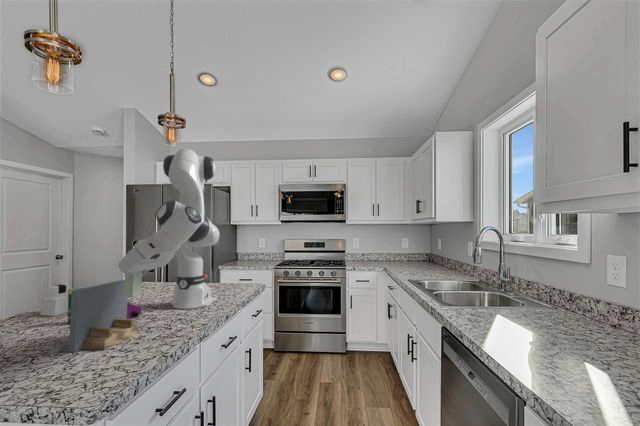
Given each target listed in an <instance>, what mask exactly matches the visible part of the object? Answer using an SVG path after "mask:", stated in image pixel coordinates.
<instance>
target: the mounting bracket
mask: <svg viewBox="0 0 640 426" xmlns="http://www.w3.org/2000/svg"><path fill="white" fill-rule="evenodd" d="M141 313H142V307H140V306H138V305H135V304H132V303H130V302H128V301H127V319H131V314H133V315H137V316H138V315H141Z"/></svg>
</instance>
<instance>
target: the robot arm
mask: <svg viewBox="0 0 640 426" xmlns="http://www.w3.org/2000/svg"><path fill="white" fill-rule="evenodd" d="M162 169H163V172H164V175H165V176H166V177H167V178H168V180H169V182H170V184H171V185H172V186H173V187H174V189H175V190H177V191H178V192H179V201H177V200H168V201H166V202H164V203H163V204H162V205H160V207H159V208H158V209H157V211H156V213H155V216H156V222H157V223H158V225H159V226H160V229H159V230H157V231H156V232H155V233H154V234H153V235H150V236H148V237H146V238H143V239H140V240H138V241H136V242H135V244H134V247H133V248H131V249H130V250H129V251H128V252H127V253H126V254H125V255H124V256H123V258H121V260H119V262H118V265H117V267H118V268H119V269H120V271H121V272H122V273H123V274H124V279H125V278H126V279H130V278H132V277H133V276H134V275H133V273H135V272H137V271H142V277H143V276H145V274H147V273H148V272H149V271H152V269H153V270H154V269H157V268H164V267H165V266H166V265H168V264H169V263H170V262H171V260H172V259H173V258H174V257H176V259H177V260H176V261H177V276H176V278H175V279H176V280H175V281H176V286H175V287H174V291H173V298H172V299H173V300H172V301H171V302H170V305H171V306H172V307H173V308H174V309H180V310H181V309H183V310H188V309H197V308H203V307H205V308H206V307H209V306H210V305H211V304H213V302H216V300H217V297H215V296H212V288H211V287H210V286H209V285H208V284H207V283H205V280H206V279H207V277H208V274H203V272H204V260H203V258H202V257H201V256H200V255H199V254H196V253H194V252H193V250H192V248H191V247H210V246H214V245H216V244H217V243H218V242H219V240H220V236H221V235H220V230H219V228H218V227H217V226H216V225H215V224H213V222H211V221H210V219H209V217H208V214H207V202H206V201H207V199H206V191H205V186H204V185H205V184H204V181H205V183H207V182H208V181H210V180H211V179H212V178H213V177H214V175H215V173H216V170H217V167H216V164H215V160H214V159H213V158H212V157H211V156H205V155H204V156H202V155H198V154H197V153H196V151H194V150H192V149H190V148H182V149H179V150H177V152H175V154H171V155H167V156H166V157H164V160H163V163H162Z"/></svg>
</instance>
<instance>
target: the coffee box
mask: <svg viewBox="0 0 640 426" xmlns="http://www.w3.org/2000/svg"><path fill="white" fill-rule="evenodd" d="M78 289H82V288H71V289H68V290H67V291H68V294H67V295H68V312H67V325H69V326H70V318H71V298H72V291H73V290H78Z"/></svg>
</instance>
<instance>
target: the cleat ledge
mask: <svg viewBox="0 0 640 426" xmlns="http://www.w3.org/2000/svg"><path fill="white" fill-rule="evenodd" d="M134 322H135V320H134V319H133V318H129V319H115V320H114V327H112V328H101V327H93V328H91V333H90V336H89V337H87V338H84V349H86V350H90V349H91V350H99V349H100V350H101V351H105V350H107V349H109V348H111V347H113V345H114V346H115V344H116V345H118V344H119V343H122V342H124V341H125V340H128V339H131V338H132V336H133V337H135V336H137V335H139V334H138V333H139V325H138V324H135V323H134Z"/></svg>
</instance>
